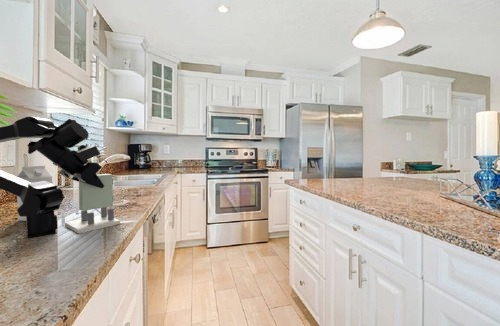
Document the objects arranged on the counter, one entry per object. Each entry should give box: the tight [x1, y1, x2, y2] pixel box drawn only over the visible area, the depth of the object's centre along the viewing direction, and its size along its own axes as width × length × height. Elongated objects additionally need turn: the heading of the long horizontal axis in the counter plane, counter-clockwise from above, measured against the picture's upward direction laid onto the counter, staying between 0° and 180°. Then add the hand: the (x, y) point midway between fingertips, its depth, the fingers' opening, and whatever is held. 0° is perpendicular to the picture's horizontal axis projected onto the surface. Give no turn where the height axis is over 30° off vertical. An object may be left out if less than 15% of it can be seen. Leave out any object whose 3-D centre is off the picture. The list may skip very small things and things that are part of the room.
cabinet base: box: [64, 207, 121, 234], centre depth 81 cm, size 12×12×5 cm
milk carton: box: [16, 165, 53, 222], centre depth 88 cm, size 7×7×19 cm
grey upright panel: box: [78, 173, 114, 211], centre depth 82 cm, size 9×3×11 cm, turn 143°
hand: (101, 186), depth 83 cm, fingers closed on grey upright panel, 3 cm apart
